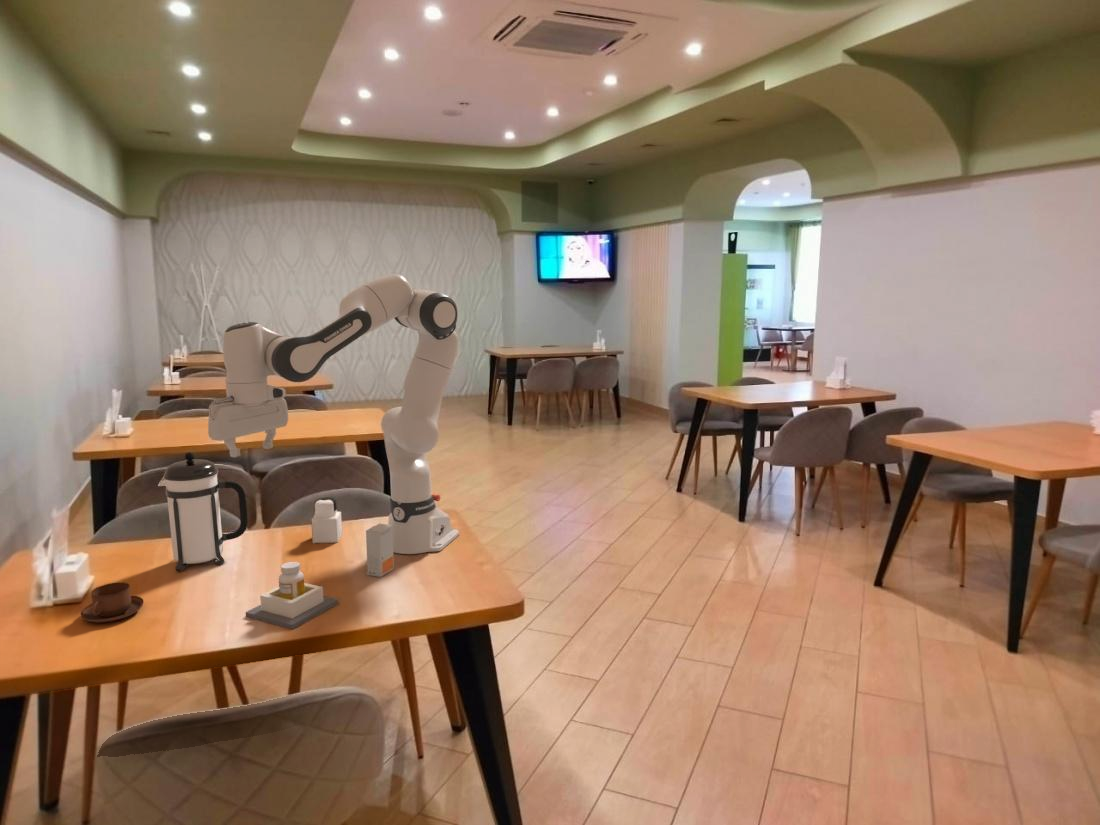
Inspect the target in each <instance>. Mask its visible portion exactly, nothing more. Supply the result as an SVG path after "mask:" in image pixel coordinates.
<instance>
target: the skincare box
mask: <svg viewBox="0 0 1100 825" xmlns="http://www.w3.org/2000/svg"><path fill="white" fill-rule="evenodd" d="M365 540H366V541H365V542H366V563H367V564H366V567H367V569H366V570H367V571H366V572H367V576H372V577H378V578H382V577H383V576H385V575H386V574H388V573H389V572H391V571H393V570H394V569H395V566H394V565H395V564H394V552H393V529H392V525H388V523H387V524H385V523H378V524H376V525H373V526H371V527H370V528H368V529H366V530H365Z"/></svg>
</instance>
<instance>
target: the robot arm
mask: <svg viewBox="0 0 1100 825" xmlns="http://www.w3.org/2000/svg"><path fill="white" fill-rule="evenodd" d="M338 308H339V309H338V310H339V311H338V312H339V313H338V314H339V315H338V317H337V318H336V319H334V320H333V321H332V322H330V323H329V324H327V325H326V326H324V327H321V328H320V329H319V330H317V331H316V332H314V333H312V334H310V335H305V336H297V337H294V336H293V337H292V336H287V335H285V334H284V335H283V334H280V333H279V332H275V331H273V330H270V329H268V328H266V327H264V326H263V325H261V323H259V322H255V321H251V322H250V321H249V322H242V323H237V324H234V325H231V326H229V327H227V329H226V330H225V331H224V334H223V340H222V341H223V342H222V343H223V344H222V346H223V347H222V351H223V352H222V353H223V364H224V367H225V369H226V377H225V392H226V397H222V398H215V399H213V401H212V402H211V403H210V404H209V406H208V424H207V430H208V431H207V432H208V433H207V434H208V437H209V438H210V439H211V440H213V441H219V442H223V443H224V445H225V446H226V447H227V449H228V450H229V456H230V458H237V457H240V456H241V448H240V447H237V446H236V444H235V443H236V442H237V440H236V439H237V438H240V437H245V436H248V435H253V434H258V433H261V432H264V433H265V434H266V436H265V439H264V440H263V441H262V448H263V449H264V450H265V449H266V450H268V449H272V448H273V447H274V444H273V441H274V438H275V436H276V434H277V430H276V429H280V428H284V427H286V426H287V425H288V422H289V410H288V403H287V400H286V399H285V397H286V389H285V388H282V387H279V386H274V385H270V384H268V376H270V375H274V376H276V377H281V378H283V379H285V380H287V381H289V382H292V383H303V382H306V381H309V380H310V379H312V378H314V376H315V375H317V373H318V372H319V371H320V369H321V368H322V366H323V365H324V363H325V362H327V361H328V359H329V358H331V357H332V356H333V355H335V354H336V353H338V352H339V351H341V350H342V349H344V348H346V347H348V346H349V345H350V344H351V343H353V342H355V341H356V340H358V339H359V338H360V337H362V336H365V335H366V334H369V333H370V332H371V333H372V332H373V331H375V330H377V329H378V328H380V327H382V326H384V325H386V324H387V323H389V322H391V321H392V320H395V322H397V323H398V324H400V325H401V326H402V327H405V328H408V329H412V330H414V331H417V333H418V344H417V347H416V348H415V351H414V354H413V357H412V359H411V362H410V365H409V367H408V370H407V373H406V376H405V378H404V382H403V396H402V404H401V406H395V407H393V408H390V409H388V410H387V411H386V412H385V413H384V414H383V416H382V418H381V421H380V427H381V431H382V434H383V440H384V448H385V452H386V453H385V454H386V458H387V461H388V462H387V463H388V467H389V475H390V476H389V477H390V498H389V505H388V506H389V512H390V514H389V515H388V523H387V525H392V529H393V553H395V554H402V555H416V554H417V555H418V554H423V553H427V552H428V553H430V552H432V553H433V552H434V553H435V552H440V551H442V550H443V549H445V548H446V547H447V546H448V545H449V544H450V543H451V542H452V541H453V540H455V539H456V538H457V537H458V536H459V535H460V531H459V529H456V528H453V527H452V525H451V519H450V516H449V514H447V513H446V512H444V511H443V510H441V509H440V508H438V507H437V505H436V503H435V502H440V501H441V499H442V498H441V494H439V493H437V494H436V493H432V479H431V478H432V477H431V476H432V475H431V467H430V464H429V462H428V458H427V453H429V452H430V451H432V450H433V449H434V448H435V447H436V446H437V445H438V444H437V443H438V442H439V438H440V434H439V432H440V431H439V421H440V420H439V419H440V413H441V406H442V401H443V396H444V392H445V389H446V387H447V383H448V381H449V378H450V376H451V373H452V369H453V368H454V367H453V366H454V365H455V360H456V355H457V353H458V352H457V351H458V347H459V346H458V345H459V336H458V333H457V332H456V331H455V330H456V328H457V322H458V306H457V304H456V302H455V301H454V300H453V298H451V297H450V296H448V295H447V294H445V293H442V292H436V291H433V290H430V289H429V290H428V289H415V288H412V285H411V284H410V283H409V281H408V279H407V278H405V277H404V276H402V275H401V274H398V273H390V274H387V275H383V276H380V277H378V278H375V279H372V280H370V281H368V282H366V283H364V284H362V285H360V286H359V287H356V288H355V289H354V290H352V291H351V292H349V293H348V294H347V295H346V296H344V297H343V298H342V299H341V301H340V303H339V307H338Z"/></svg>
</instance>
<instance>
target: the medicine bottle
mask: <svg viewBox="0 0 1100 825" xmlns="http://www.w3.org/2000/svg"><path fill="white" fill-rule="evenodd" d="M310 521H311V522H310V523H311V537H312V538H311V539H312V543H313V544H327V543H329V544H330V543H331V544H332V543H338V542H339V540H340V538H341V536H342V535H343V528H342V526H343V525H342V524H343V522H342V511H338V506H337V499H336V498H333V497H327V496H326V497H320V498H318V499H316V500H315V501H314V515H313V516H312V518H311V520H310Z"/></svg>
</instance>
